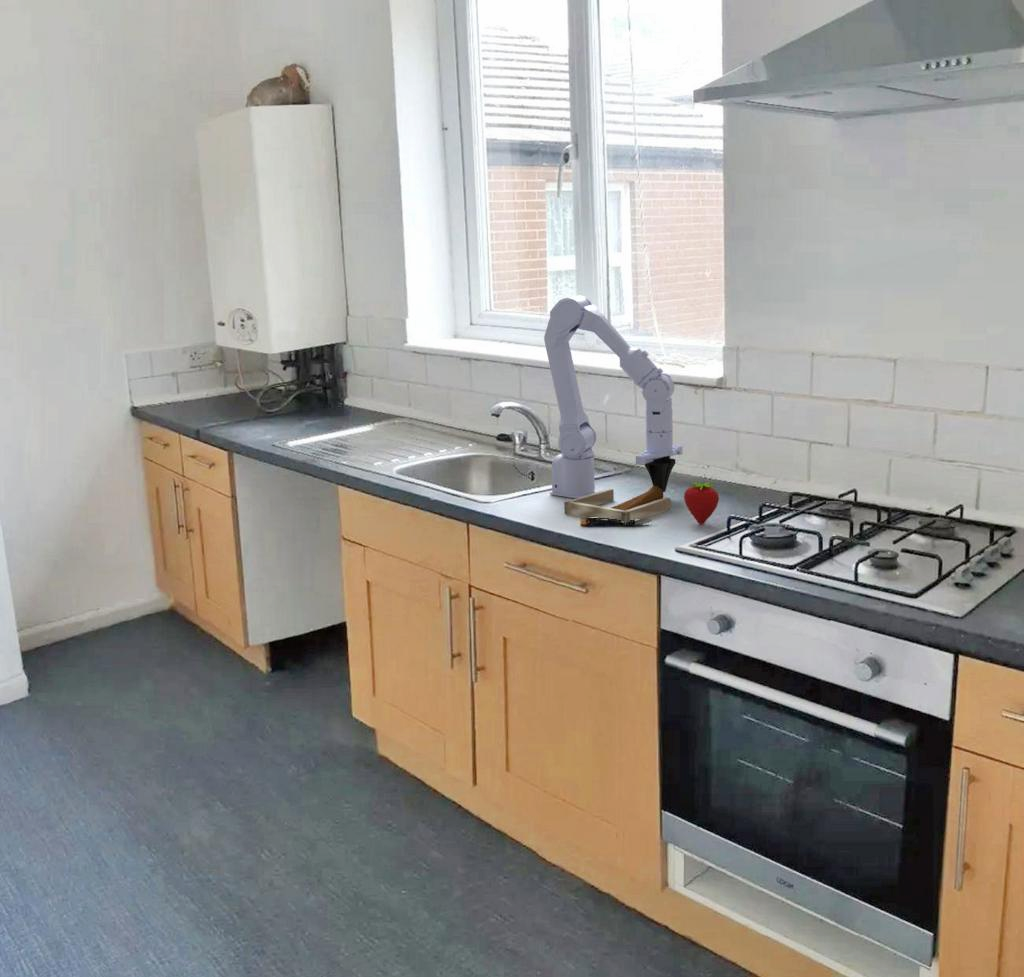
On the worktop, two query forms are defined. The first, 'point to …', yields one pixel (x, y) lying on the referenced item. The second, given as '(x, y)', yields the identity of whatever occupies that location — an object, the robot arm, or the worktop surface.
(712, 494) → the strawberry
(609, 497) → the box
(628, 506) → the primitive tool
